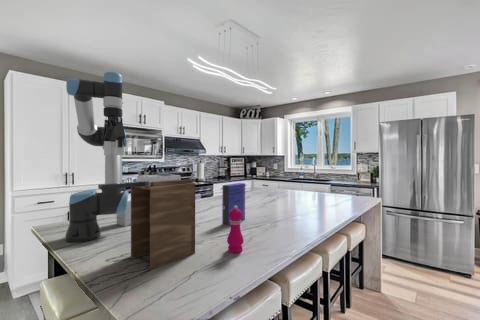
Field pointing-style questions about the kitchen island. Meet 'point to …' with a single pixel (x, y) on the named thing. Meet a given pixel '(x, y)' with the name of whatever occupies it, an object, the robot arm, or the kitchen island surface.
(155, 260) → the stand
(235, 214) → the pepper mill
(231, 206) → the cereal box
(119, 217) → the supplement box
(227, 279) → the kitchen island surface
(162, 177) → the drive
